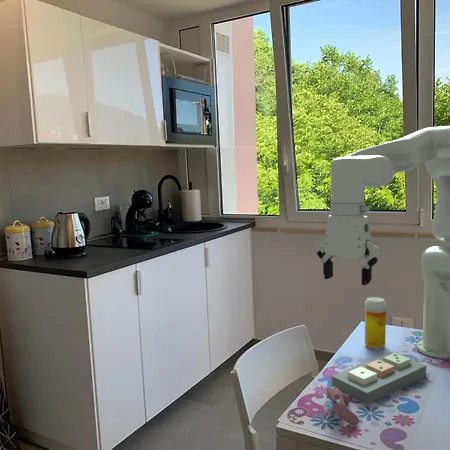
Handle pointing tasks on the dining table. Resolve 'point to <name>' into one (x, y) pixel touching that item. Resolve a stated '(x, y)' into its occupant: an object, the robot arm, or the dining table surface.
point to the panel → (378, 381)
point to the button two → (380, 368)
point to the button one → (362, 376)
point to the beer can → (375, 322)
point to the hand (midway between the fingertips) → (346, 280)
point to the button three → (397, 361)
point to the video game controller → (341, 405)
